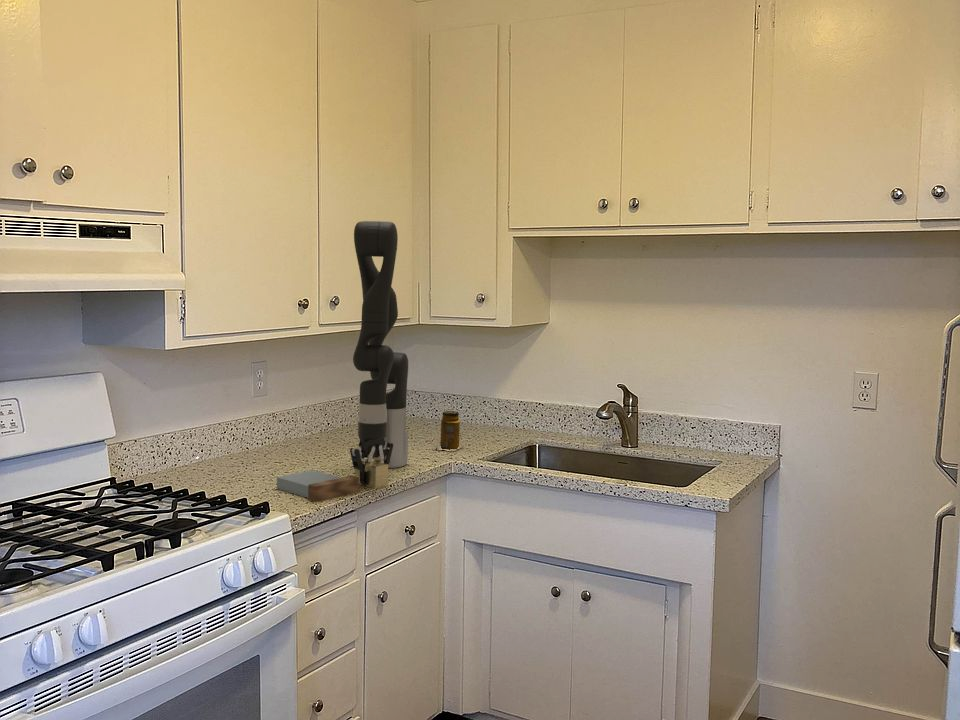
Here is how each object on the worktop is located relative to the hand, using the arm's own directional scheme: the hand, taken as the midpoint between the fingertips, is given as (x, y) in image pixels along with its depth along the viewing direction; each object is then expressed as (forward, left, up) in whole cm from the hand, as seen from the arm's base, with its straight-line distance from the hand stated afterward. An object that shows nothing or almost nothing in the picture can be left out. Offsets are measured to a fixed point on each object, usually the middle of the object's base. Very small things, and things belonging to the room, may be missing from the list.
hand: (371, 482), depth 240 cm
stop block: (+15, +2, -1) cm, 15 cm away
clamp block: (0, 0, -1) cm, 1 cm away
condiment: (-50, -18, -1) cm, 53 cm away
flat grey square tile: (+15, -6, 0) cm, 16 cm away
